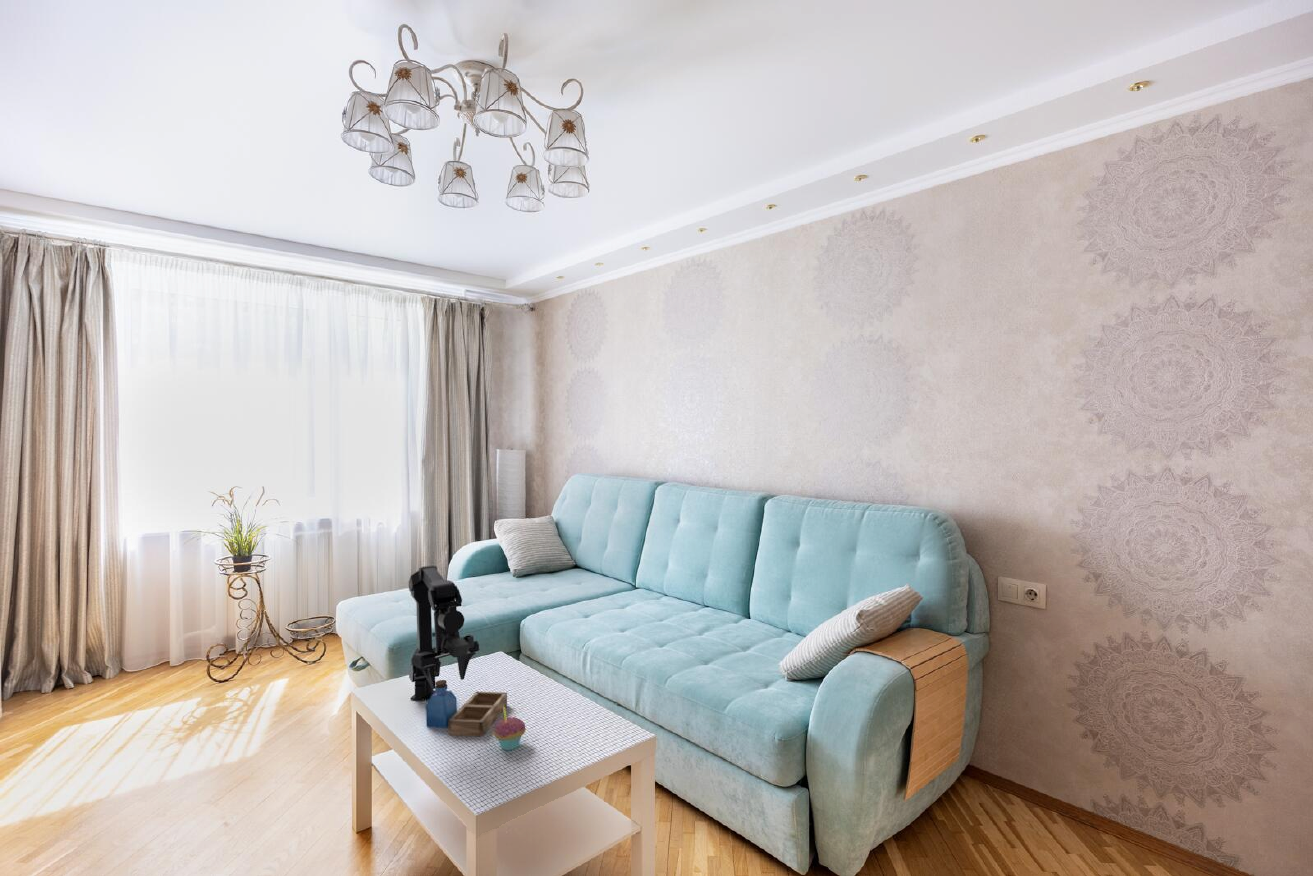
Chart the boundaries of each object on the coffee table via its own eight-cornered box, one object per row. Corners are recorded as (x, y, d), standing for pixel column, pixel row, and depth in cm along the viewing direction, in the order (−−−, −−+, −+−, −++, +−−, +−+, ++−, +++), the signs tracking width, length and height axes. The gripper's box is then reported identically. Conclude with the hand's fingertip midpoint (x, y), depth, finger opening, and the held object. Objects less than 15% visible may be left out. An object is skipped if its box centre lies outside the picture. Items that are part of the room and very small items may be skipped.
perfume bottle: (445, 728, 177) (445, 687, 177) (426, 726, 178) (425, 685, 178) (456, 718, 183) (456, 678, 183) (438, 716, 184) (437, 677, 184)
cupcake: (509, 757, 161) (508, 711, 161) (486, 748, 165) (486, 704, 165) (532, 742, 168) (531, 699, 168) (510, 735, 173) (509, 692, 172)
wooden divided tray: (476, 704, 192) (476, 691, 192) (507, 705, 191) (506, 692, 191) (448, 734, 173) (448, 720, 173) (482, 736, 172) (482, 722, 172)
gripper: (431, 636, 163) (434, 697, 161) (489, 622, 178) (492, 677, 176) (409, 634, 170) (411, 692, 168) (466, 620, 185) (469, 674, 183)
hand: (448, 684), depth 174 cm, fingers open, 9 cm apart
